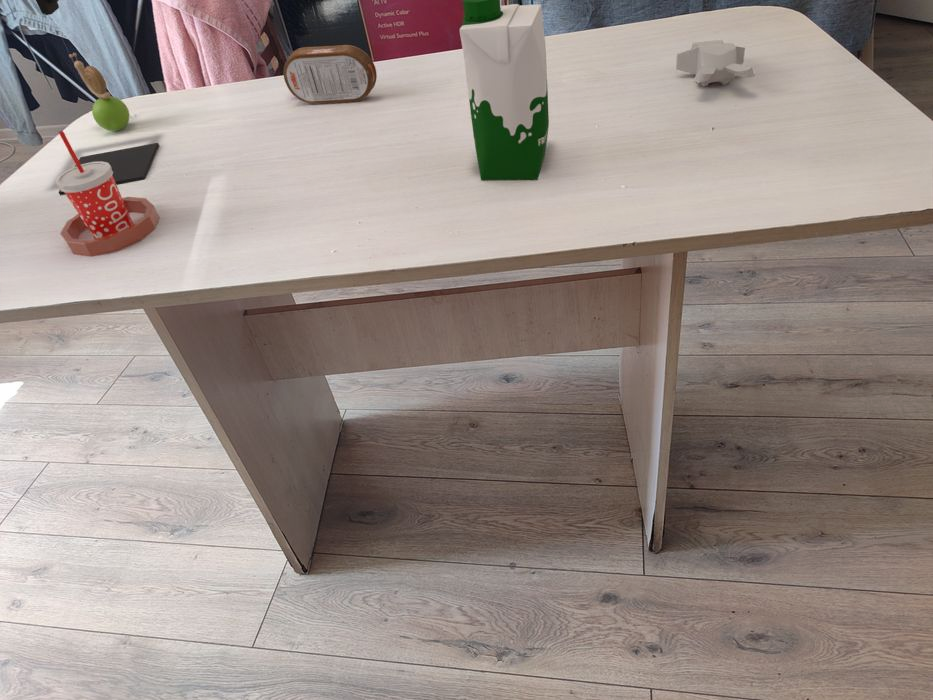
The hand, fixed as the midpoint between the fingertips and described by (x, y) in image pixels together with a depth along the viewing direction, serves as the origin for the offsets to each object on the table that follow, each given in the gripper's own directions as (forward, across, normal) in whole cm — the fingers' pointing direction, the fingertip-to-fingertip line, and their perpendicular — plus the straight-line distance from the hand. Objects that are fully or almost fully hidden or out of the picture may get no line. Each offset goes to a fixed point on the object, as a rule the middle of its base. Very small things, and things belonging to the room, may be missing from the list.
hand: (2, 20), depth 67 cm
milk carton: (+26, +50, -1) cm, 56 cm away
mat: (+25, -6, +23) cm, 35 cm away
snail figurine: (+26, -9, +40) cm, 48 cm away
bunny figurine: (+26, +83, +14) cm, 88 cm away
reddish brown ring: (+26, 0, 0) cm, 26 cm away
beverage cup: (+26, 0, 0) cm, 26 cm away
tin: (+26, +28, +34) cm, 51 cm away
